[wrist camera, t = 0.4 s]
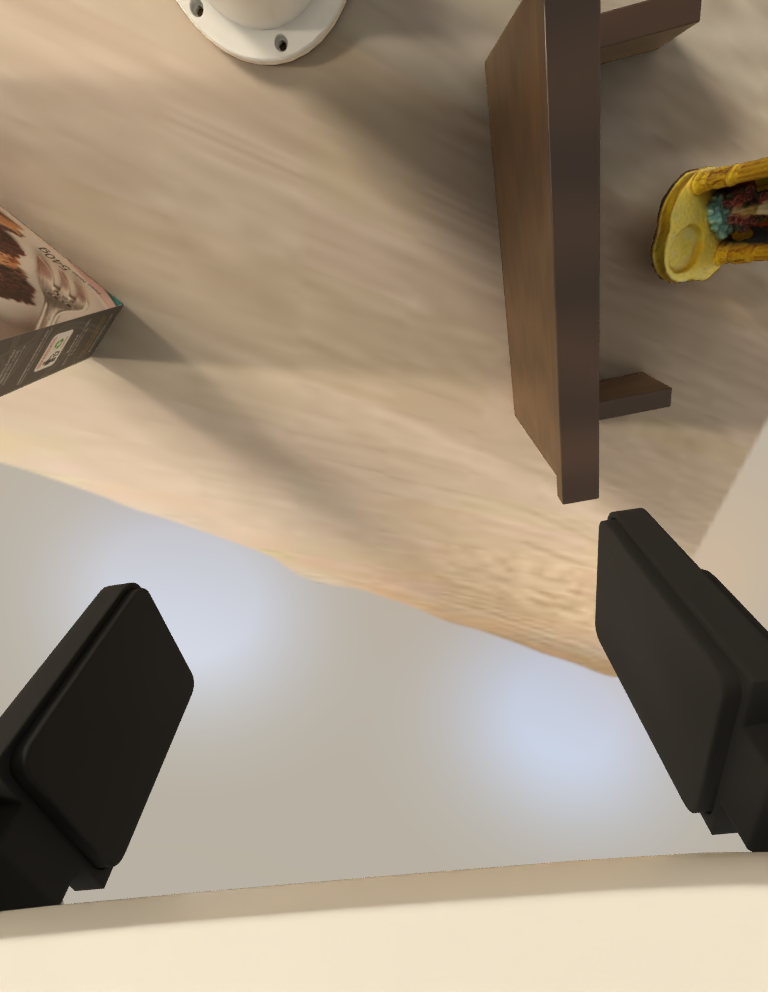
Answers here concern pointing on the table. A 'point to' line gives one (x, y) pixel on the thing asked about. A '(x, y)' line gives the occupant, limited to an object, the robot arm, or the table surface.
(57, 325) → the cake mix box
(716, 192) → the shrine
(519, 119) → the wooden stand
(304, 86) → the table surface
